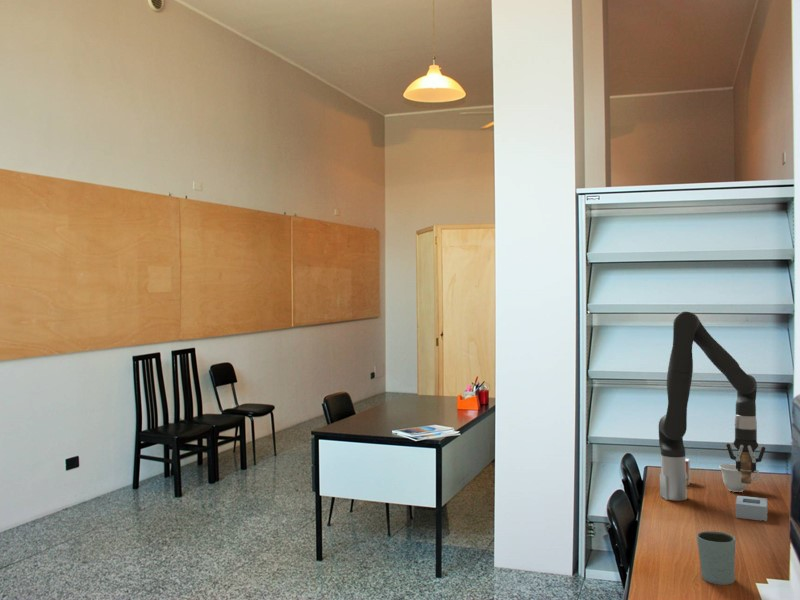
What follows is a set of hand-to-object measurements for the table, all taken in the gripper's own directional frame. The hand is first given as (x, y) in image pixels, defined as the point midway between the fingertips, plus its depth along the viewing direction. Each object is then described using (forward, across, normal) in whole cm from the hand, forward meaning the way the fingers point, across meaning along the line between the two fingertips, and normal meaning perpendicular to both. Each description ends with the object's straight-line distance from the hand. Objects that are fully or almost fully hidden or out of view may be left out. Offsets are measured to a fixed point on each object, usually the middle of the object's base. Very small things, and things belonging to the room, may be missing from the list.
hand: (745, 471), depth 267 cm
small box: (+14, +27, -25) cm, 39 cm away
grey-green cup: (+14, +4, +81) cm, 83 cm away
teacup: (+13, +3, -20) cm, 25 cm away
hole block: (+13, -2, +12) cm, 18 cm away
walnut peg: (+4, 0, 0) cm, 4 cm away
